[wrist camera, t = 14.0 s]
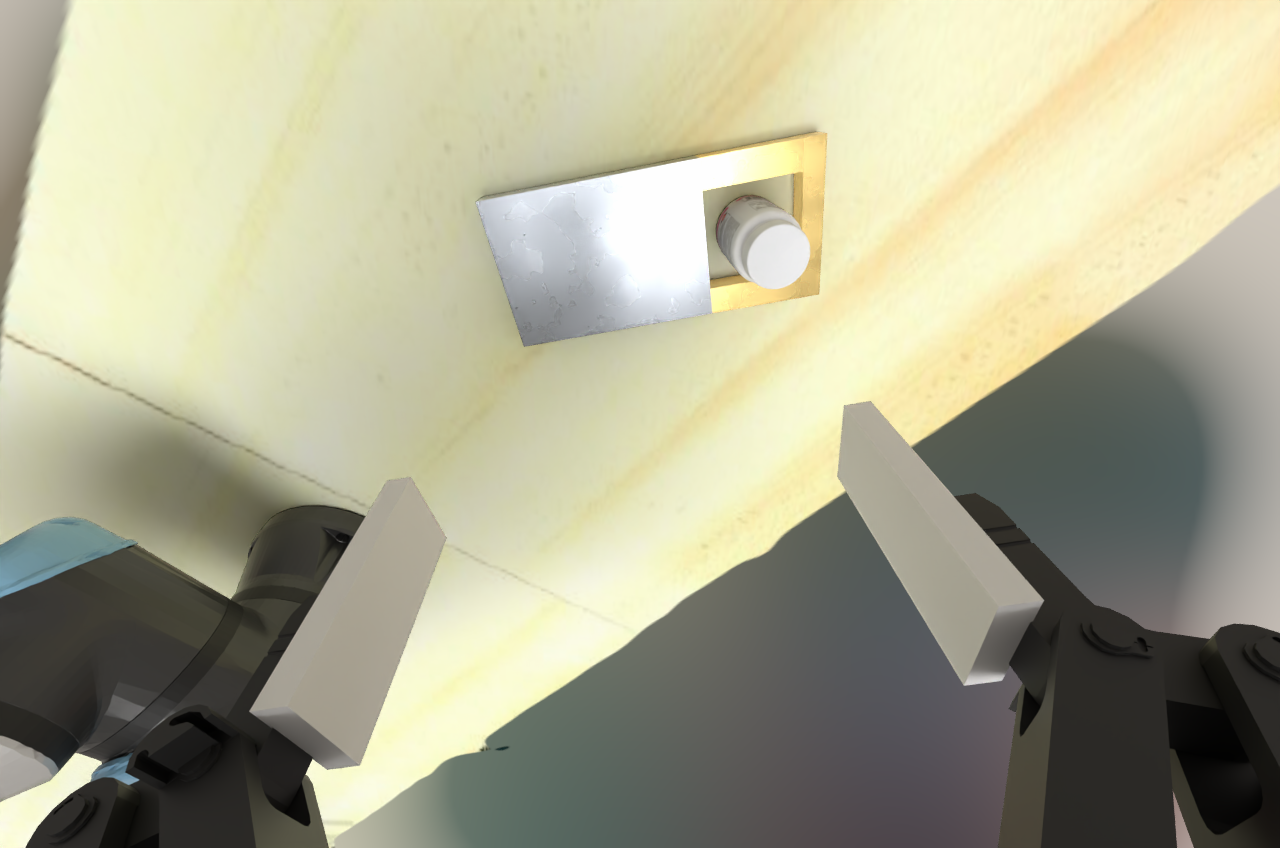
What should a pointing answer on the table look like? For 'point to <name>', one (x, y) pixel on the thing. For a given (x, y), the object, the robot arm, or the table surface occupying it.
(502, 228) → the flat tray
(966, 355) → the table surface
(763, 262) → the pill bottle
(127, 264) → the table surface
